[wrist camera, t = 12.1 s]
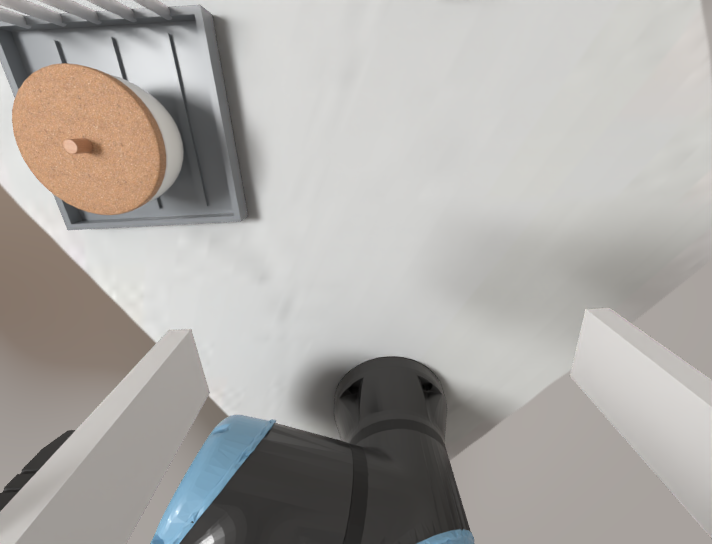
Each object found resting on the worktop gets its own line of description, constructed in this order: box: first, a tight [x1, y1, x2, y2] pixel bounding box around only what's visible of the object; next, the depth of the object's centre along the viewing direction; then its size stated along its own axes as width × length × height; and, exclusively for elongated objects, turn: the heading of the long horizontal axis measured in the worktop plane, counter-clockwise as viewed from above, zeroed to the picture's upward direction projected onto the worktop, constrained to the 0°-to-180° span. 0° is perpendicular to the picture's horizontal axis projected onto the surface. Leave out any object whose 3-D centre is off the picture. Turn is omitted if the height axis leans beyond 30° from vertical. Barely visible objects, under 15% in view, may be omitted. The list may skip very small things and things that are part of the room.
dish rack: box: [0, 0, 248, 230], centre depth 29 cm, size 18×18×9 cm
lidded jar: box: [12, 63, 184, 215], centre depth 28 cm, size 11×11×9 cm
